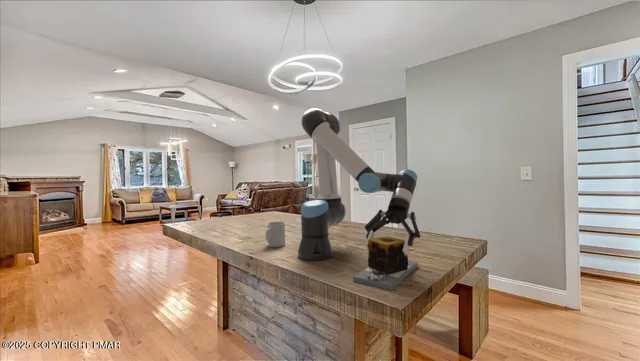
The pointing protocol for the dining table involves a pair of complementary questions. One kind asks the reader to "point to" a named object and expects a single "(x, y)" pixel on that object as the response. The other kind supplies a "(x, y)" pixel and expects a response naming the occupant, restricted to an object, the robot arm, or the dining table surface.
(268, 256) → the dining table surface
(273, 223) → the mug
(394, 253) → the candle
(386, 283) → the gear board
